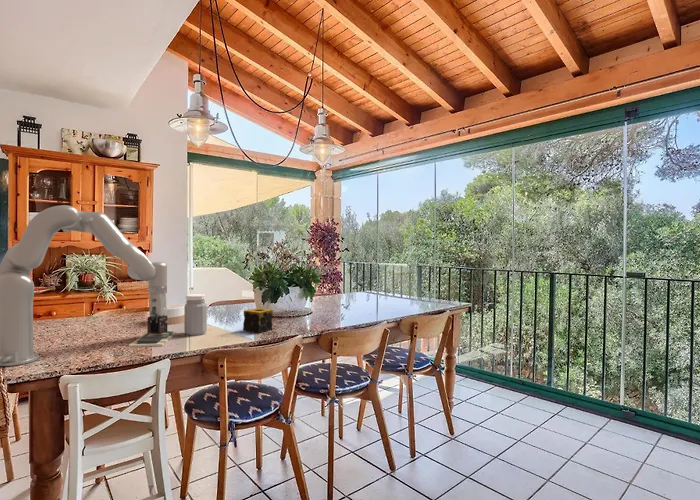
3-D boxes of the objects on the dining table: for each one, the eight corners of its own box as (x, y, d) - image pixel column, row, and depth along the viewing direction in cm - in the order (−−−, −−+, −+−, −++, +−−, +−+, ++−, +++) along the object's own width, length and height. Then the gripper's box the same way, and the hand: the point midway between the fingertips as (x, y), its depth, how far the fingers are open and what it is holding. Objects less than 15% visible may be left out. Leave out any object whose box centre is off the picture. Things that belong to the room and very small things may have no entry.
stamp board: (162, 346, 170) (162, 341, 170) (128, 347, 168) (128, 342, 168) (176, 333, 191) (176, 329, 191) (146, 334, 189) (146, 330, 189)
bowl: (192, 321, 221) (192, 305, 221) (162, 326, 206) (162, 310, 206) (171, 317, 230) (171, 302, 230) (142, 322, 215) (142, 306, 215)
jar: (197, 330, 199) (197, 292, 199) (211, 332, 194) (211, 294, 194) (179, 334, 191) (179, 295, 190) (193, 336, 186) (193, 296, 185)
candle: (242, 331, 199) (242, 310, 199) (256, 327, 208) (256, 307, 208) (259, 333, 194) (259, 312, 194) (272, 329, 203) (273, 309, 203)
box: (159, 334, 181) (159, 317, 181) (146, 333, 182) (147, 317, 182) (167, 331, 187) (167, 315, 187) (155, 330, 188) (156, 314, 188)
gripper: (160, 292, 176) (160, 333, 177) (171, 287, 193) (171, 325, 194) (142, 292, 175) (141, 334, 175) (154, 287, 192) (154, 325, 193)
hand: (157, 329), depth 185 cm, fingers closed on box, 7 cm apart
